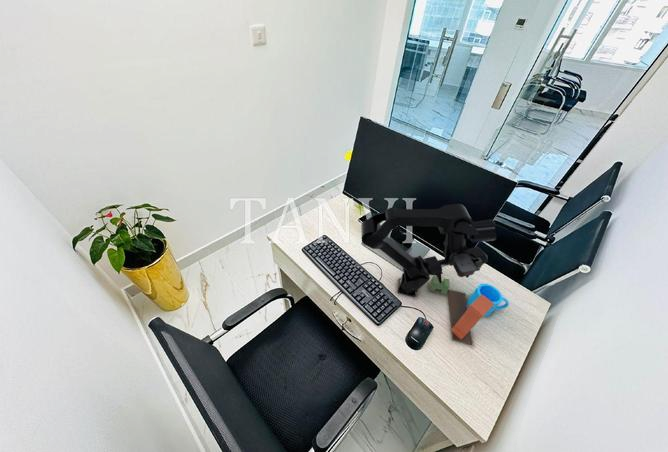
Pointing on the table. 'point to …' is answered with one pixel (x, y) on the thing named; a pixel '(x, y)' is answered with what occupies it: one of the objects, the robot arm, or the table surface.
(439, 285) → the green knobbly lump
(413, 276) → the robot arm
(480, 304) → the letter I
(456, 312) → the board
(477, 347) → the table surface
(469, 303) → the mug
